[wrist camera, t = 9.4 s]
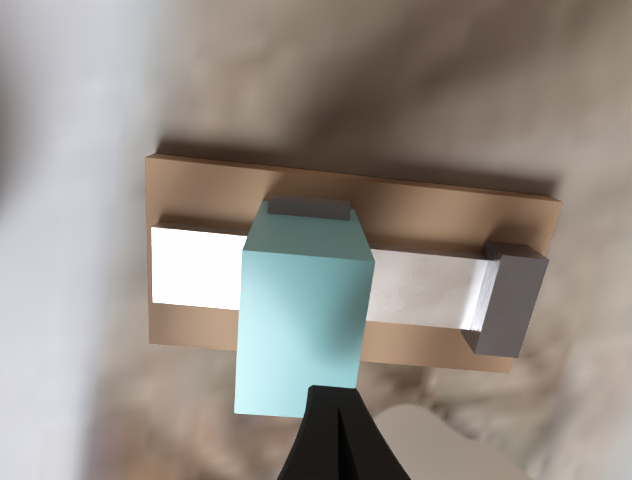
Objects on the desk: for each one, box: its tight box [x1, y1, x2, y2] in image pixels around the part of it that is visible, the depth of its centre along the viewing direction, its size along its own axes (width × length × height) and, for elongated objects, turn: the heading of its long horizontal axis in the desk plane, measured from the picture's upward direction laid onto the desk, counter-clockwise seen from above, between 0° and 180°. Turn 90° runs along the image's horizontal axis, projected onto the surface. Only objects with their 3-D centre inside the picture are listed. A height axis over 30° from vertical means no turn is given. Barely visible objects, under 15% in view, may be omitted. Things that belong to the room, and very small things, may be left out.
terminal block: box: [234, 194, 375, 418], centre depth 16 cm, size 4×7×6 cm, turn 174°
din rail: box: [152, 222, 549, 358], centre depth 18 cm, size 17×5×2 cm, turn 84°
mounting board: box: [145, 153, 563, 373], centre depth 20 cm, size 18×9×1 cm, turn 84°
